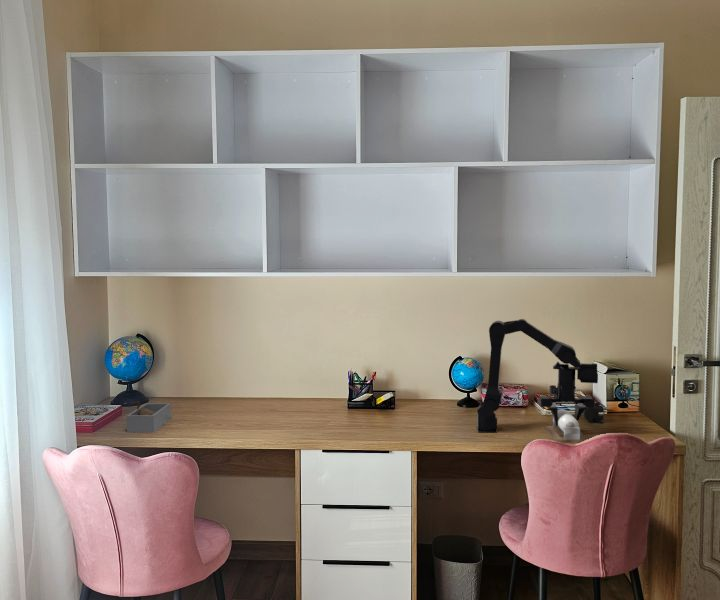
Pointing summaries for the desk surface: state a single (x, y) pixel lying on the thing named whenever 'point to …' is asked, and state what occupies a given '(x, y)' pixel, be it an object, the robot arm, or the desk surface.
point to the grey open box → (143, 410)
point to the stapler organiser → (149, 418)
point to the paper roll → (566, 419)
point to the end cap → (594, 413)
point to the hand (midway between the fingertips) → (565, 425)
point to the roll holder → (565, 434)
